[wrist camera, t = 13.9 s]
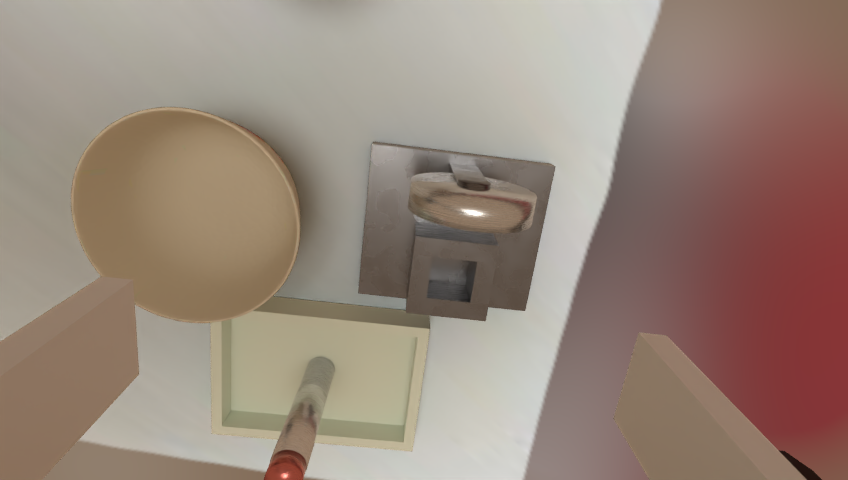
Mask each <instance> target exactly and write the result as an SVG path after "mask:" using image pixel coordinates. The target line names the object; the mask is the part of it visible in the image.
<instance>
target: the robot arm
mask: <svg viewBox="0 0 848 480" xmlns="http://www.w3.org/2000/svg"><path fill="white" fill-rule="evenodd" d="M138 375H139V365H138V350H137V334H136V318H135V302H134V287H133V280H131V279H121V278H112V277H100V278H98V279H97V280H95V281H94V282H92V283H91V284H89V285H88V286H86V287H84V288H83V289H81V290H80V291H78V292H77V293H75V294H74V295H72V296H71V297H69V298H67V299H66V300H64V301H63V302H61V303H60V304H58V305H57V306H55V307H53V308H52V309H50V310H49V311H47V312H46V313H44V314H43V315H41V316H40V317H38V318H36V319H35V320H33V321H32V322H30V323H29V324H27V325H26V326H24V327H22V328H21V329H19V330H18V331H16V332H15V333H13V334H12V335H10V336H9V337H7V338H5V339H4V340H2V341H1V342H0V480H42V479H43V478H44V477H45V476H46V475H47V474H48V472H50V470H51V469H52V468H53V467H54V466H55V465H56V464H57V463H58V462H59V460H61V458H62V457H63V456H64V455H65V454H66V453H67V452H68V451H69V450H70V449H71V448H72V446H73V445H74V444H75V443H76V442H77V441H78V440H79V439H80V438H81V437H82V436H83V435H84V433H85V432H86V431H87V430H88V429H89V428H90V427H91V426H92V425H93V424H94V423H95V421H96V420H97V419H98V418H99V417H100V416H101V415H102V414H103V413H104V412H105V411H106V409H107V408H108V407H109V406H110V405H111V404H112V403H113V402H114V401H115V400H116V399H117V397H118V396H119V395H120V394H121V393H122V392H123V391H124V390H125V389H126V388H127V387H128V386H129V384H130V383H131V382H132V381H133V380H134V379H135V378H136V377H137V376H138ZM614 420H615V422H616V423H617V425H618V427H619V429H620V430H621V432H622V434H623V436H624V437H625V439H626V441H627V442H628V444H629V446H630V448H631V449H632V451H633V453H634V454H635V456H636V458H637V460H638V461H639V463H640V465H641V467H642V468H643V470H644V472H645V473H646V475H647V477H648V479H649V480H822V479H821V478H820V477H819V476H818V475H817V474H816V473H815V472H814V471H812V470H811V469H810V468H808V467H807V466H805V465H804V464H802V463H801V462H799V461H798V460H797V459H795V458H794V457H792V456H791V455H789V454H788V453H786V452H785V451H778V450H777V449H776V448H775V447H774V446H773V445H772V444H771V442H769V440H768V439H767V438H766V437H765V436H764V435H763V434H762V433H761V432H760V431H759V430H758V429H757V428H756V427H755V426H754V425H753V424H752V423H751V422H750V421H749V420H748V419H747V418H746V417H745V416H744V415H743V414H742V413H741V412H740V411H739V410H738V409H737V408H736V407H735V406H734V404H733V403H731V401H730V400H729V399H728V398H727V397H726V396H725V395H724V394H723V393H722V392H721V391H720V390H719V389H718V388H717V387H716V386H715V385H714V384H713V383H712V382H711V381H710V380H709V379H708V378H707V377H706V376H705V375H704V374H703V373H702V372H701V371H700V370H699V368H697V366H696V365H695V364H694V363H693V362H692V361H691V360H690V359H689V358H688V357H687V356H686V355H685V354H684V353H683V352H682V351H681V350H680V349H679V348H678V347H677V346H676V345H675V344H674V343H673V342H672V341H671V340H670V339H669V338H668V337H667V336H665V335H656V334H647V333H639V334H638V337H637V340H636V344H635V347H634V351H633V354H632V358H631V361H630V364H629V368H628V371H627V374H626V378H625V381H624V385H623V388H622V392H621V395H620V398H619V402H618V405H617V408H616V412H615V415H614Z"/></svg>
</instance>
